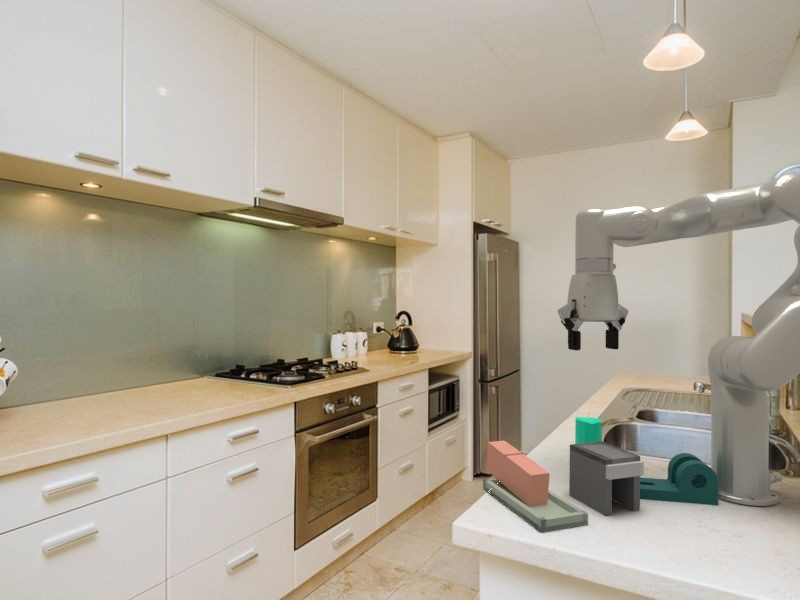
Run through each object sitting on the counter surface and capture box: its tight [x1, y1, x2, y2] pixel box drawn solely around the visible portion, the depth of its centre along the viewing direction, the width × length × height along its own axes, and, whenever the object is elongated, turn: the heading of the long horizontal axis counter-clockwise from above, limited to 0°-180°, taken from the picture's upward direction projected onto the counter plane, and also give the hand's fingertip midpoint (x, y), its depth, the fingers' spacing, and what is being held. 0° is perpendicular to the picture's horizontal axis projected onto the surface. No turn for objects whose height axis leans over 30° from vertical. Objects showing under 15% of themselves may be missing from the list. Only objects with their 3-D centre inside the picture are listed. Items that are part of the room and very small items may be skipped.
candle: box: [574, 412, 603, 444], centre depth 119 cm, size 6×6×12 cm
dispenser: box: [568, 440, 644, 517], centre depth 95 cm, size 11×8×10 cm
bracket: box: [640, 452, 719, 506], centre depth 100 cm, size 18×7×8 cm, turn 79°
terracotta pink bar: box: [485, 440, 550, 507], centre depth 99 cm, size 4×16×6 cm, turn 19°
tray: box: [482, 477, 589, 534], centre depth 94 cm, size 9×20×2 cm, turn 19°
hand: (593, 349), depth 106 cm, fingers open, 9 cm apart
